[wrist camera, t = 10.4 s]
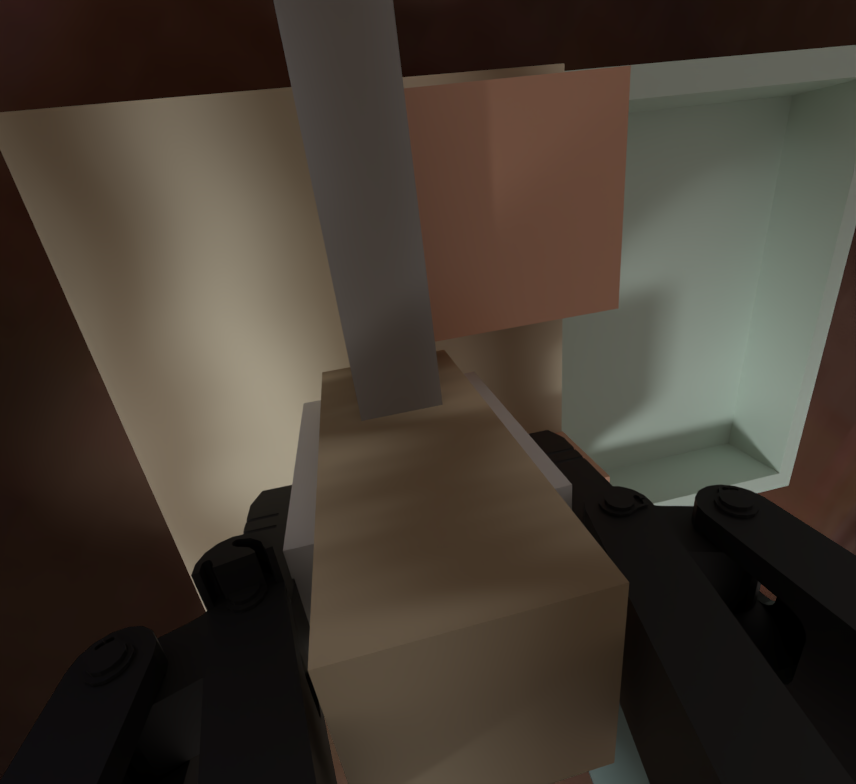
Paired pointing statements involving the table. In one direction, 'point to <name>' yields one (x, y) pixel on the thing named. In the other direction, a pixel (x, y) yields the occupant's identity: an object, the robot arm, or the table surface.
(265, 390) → the board
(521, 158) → the tile
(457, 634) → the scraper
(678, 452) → the tray
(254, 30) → the table surface
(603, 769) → the cup
